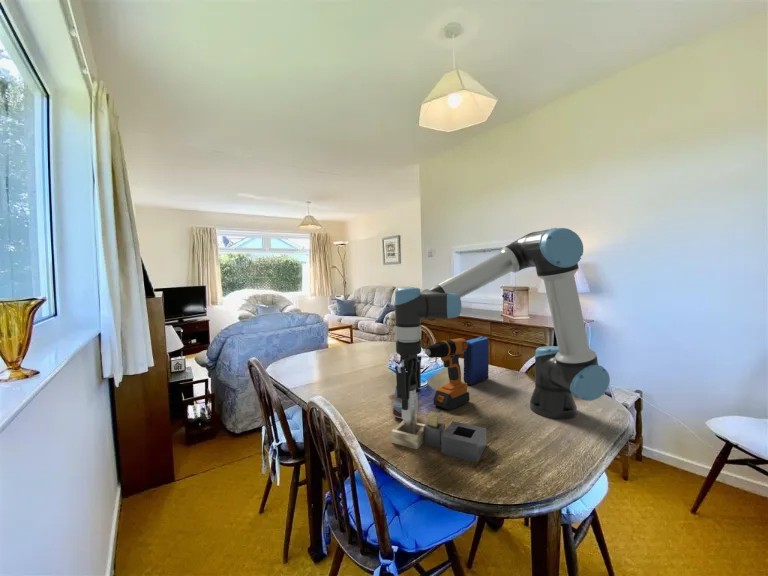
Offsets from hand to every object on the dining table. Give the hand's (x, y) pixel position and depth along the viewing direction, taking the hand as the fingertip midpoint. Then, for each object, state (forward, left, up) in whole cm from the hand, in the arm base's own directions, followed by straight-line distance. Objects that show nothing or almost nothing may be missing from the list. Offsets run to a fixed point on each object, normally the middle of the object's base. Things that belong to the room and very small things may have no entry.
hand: (409, 416), depth 103 cm
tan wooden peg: (-7, -2, -7) cm, 10 cm away
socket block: (-13, -2, -8) cm, 15 cm away
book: (-4, -62, -8) cm, 63 cm away
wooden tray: (0, 0, -8) cm, 8 cm away
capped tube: (0, 0, -6) cm, 6 cm away
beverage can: (+10, -15, -8) cm, 20 cm away
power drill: (-1, -31, -8) cm, 32 cm away
